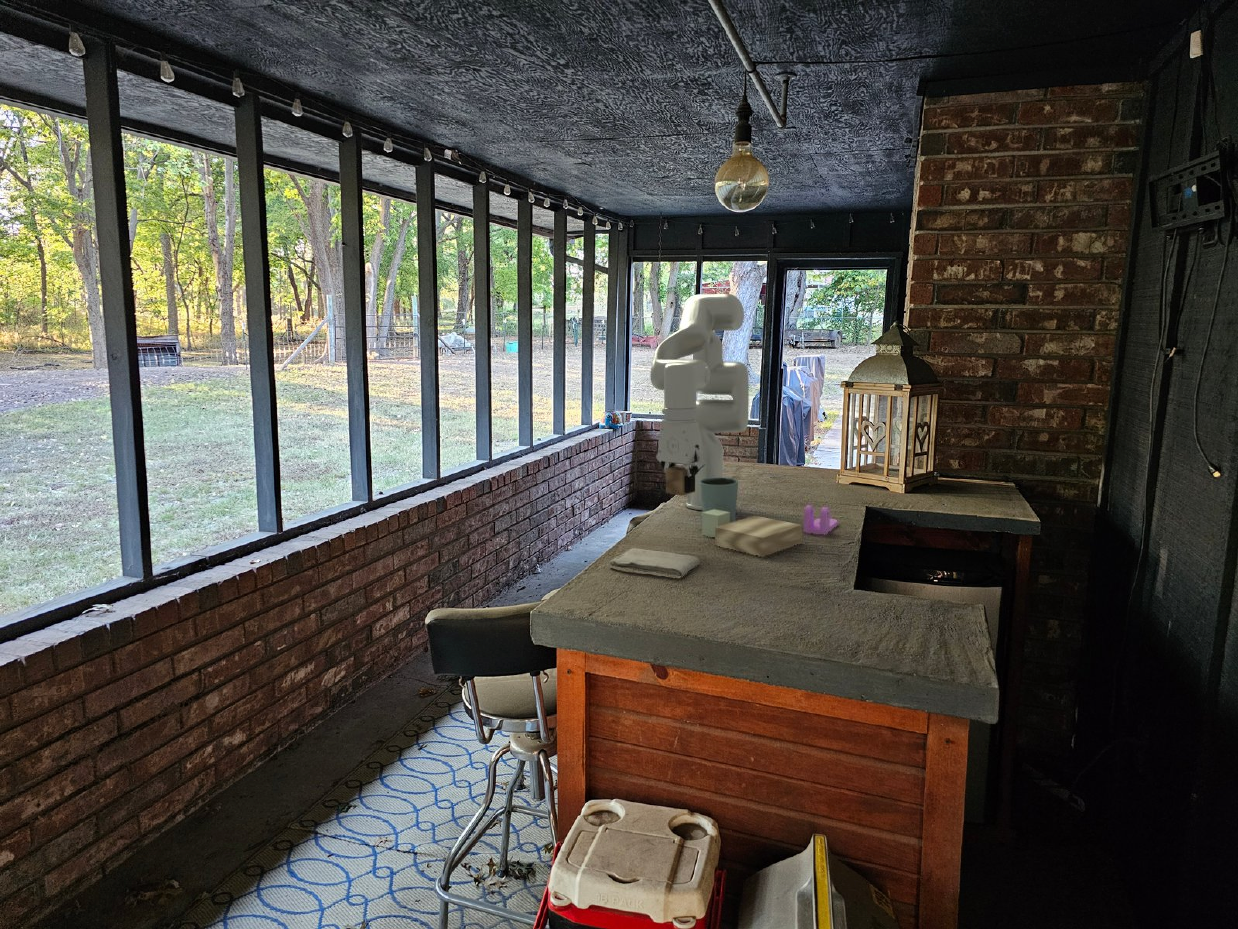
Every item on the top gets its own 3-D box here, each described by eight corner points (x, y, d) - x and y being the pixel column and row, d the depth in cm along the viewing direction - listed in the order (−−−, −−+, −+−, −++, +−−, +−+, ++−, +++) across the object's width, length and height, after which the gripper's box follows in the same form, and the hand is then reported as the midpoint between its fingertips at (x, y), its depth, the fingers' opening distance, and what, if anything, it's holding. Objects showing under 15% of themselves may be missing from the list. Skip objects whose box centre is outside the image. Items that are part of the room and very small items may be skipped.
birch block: (715, 547, 189) (715, 527, 188) (754, 534, 199) (754, 515, 199) (762, 558, 179) (762, 537, 178) (801, 544, 190) (801, 525, 189)
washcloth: (628, 557, 182) (628, 544, 181) (701, 566, 174) (701, 553, 173) (606, 571, 171) (606, 558, 170) (682, 582, 163) (682, 568, 163)
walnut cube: (665, 492, 186) (665, 468, 185) (679, 489, 190) (679, 465, 189) (681, 495, 183) (681, 470, 182) (695, 492, 186) (695, 467, 185)
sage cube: (702, 535, 198) (702, 512, 197) (714, 531, 201) (714, 509, 200) (717, 539, 195) (717, 515, 193) (729, 535, 198) (729, 512, 197)
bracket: (825, 535, 196) (825, 509, 195) (803, 533, 199) (804, 506, 198) (839, 524, 207) (840, 499, 206) (819, 522, 210) (819, 497, 209)
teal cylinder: (742, 521, 211) (742, 478, 209) (731, 530, 202) (731, 485, 200) (706, 518, 215) (706, 476, 213) (694, 527, 206) (694, 483, 204)
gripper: (643, 413, 186) (644, 487, 190) (698, 419, 174) (698, 498, 178) (663, 410, 191) (664, 482, 195) (718, 416, 179) (718, 492, 183)
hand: (680, 489), depth 186 cm, fingers closed on walnut cube, 5 cm apart
